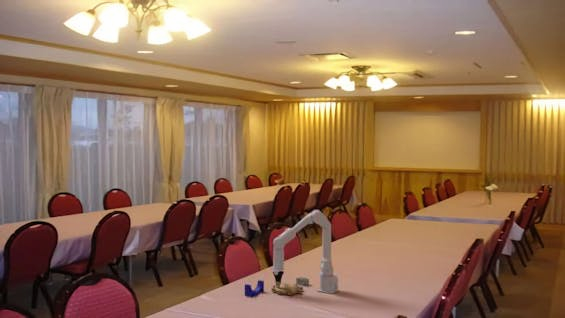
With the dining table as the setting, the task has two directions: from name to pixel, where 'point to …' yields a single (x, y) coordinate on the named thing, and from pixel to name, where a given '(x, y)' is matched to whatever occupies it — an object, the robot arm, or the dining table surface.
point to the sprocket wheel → (287, 288)
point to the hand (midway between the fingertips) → (278, 284)
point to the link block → (302, 281)
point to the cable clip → (256, 291)
